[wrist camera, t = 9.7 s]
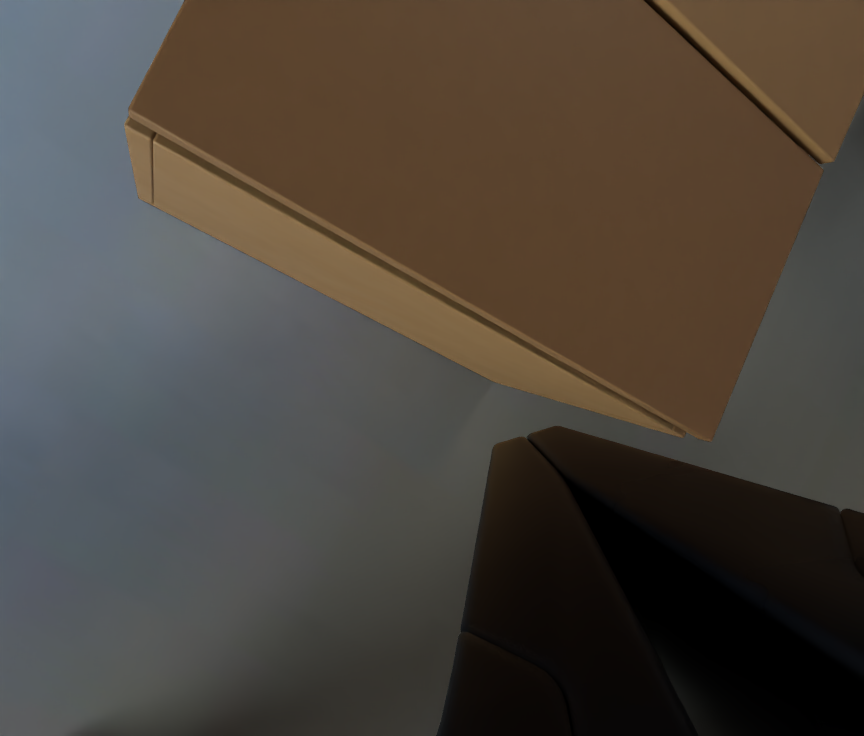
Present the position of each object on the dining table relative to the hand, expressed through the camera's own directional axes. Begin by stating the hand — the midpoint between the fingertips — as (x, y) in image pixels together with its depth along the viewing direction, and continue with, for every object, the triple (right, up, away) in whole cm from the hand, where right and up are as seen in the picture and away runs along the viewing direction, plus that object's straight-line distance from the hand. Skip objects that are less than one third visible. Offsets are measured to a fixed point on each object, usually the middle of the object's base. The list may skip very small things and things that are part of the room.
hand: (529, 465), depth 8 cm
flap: (+1, +5, +3) cm, 6 cm away
